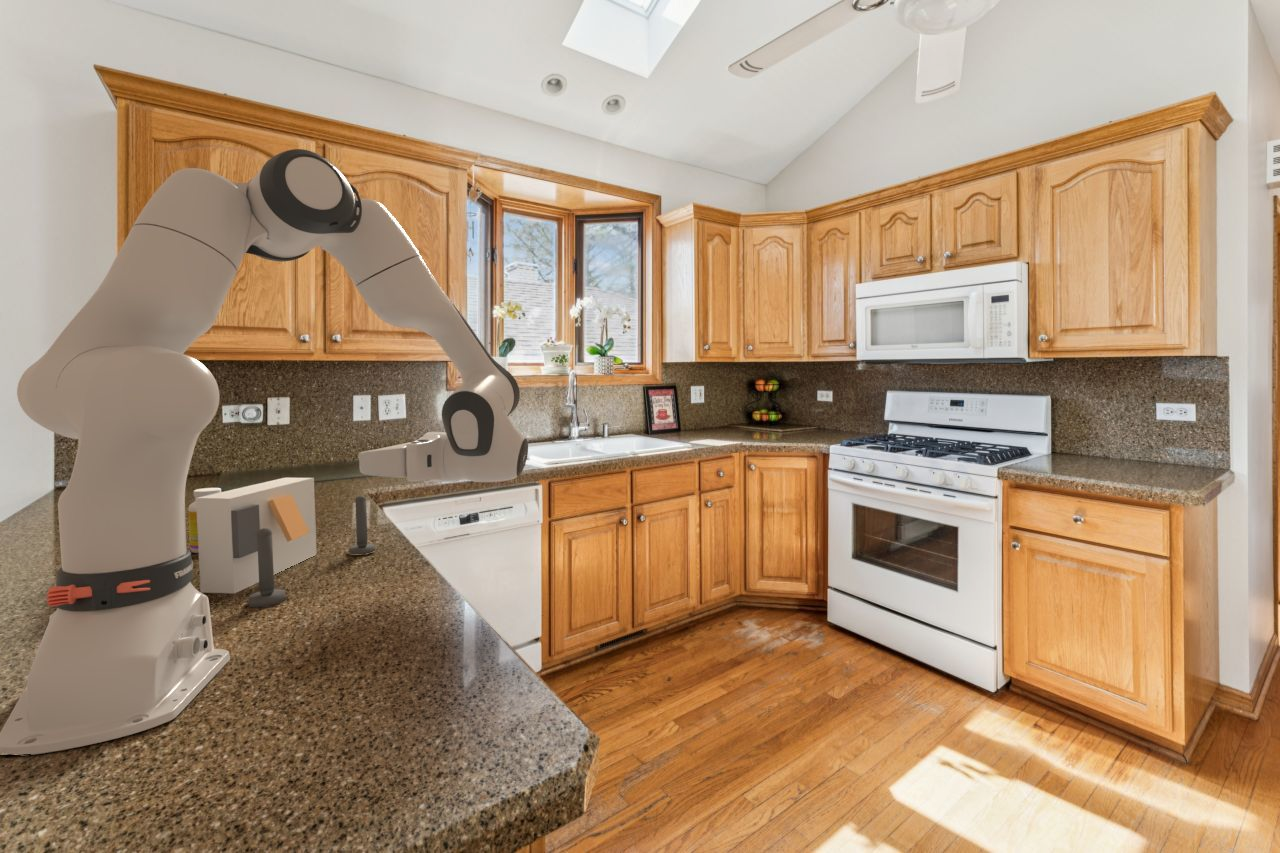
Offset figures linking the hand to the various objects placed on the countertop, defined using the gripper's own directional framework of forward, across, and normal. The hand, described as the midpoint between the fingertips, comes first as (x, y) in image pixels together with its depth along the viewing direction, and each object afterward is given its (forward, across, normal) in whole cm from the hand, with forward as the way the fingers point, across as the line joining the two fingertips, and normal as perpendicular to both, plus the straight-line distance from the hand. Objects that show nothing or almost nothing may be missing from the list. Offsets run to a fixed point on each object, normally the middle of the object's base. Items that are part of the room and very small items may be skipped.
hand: (362, 455), depth 106 cm
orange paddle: (+13, 0, +15) cm, 20 cm away
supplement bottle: (+42, -13, +22) cm, 49 cm away
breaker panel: (+20, 0, +22) cm, 30 cm away
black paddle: (+16, +9, +16) cm, 24 cm away
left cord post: (+9, +14, +22) cm, 27 cm away
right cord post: (+9, -14, +22) cm, 27 cm away
